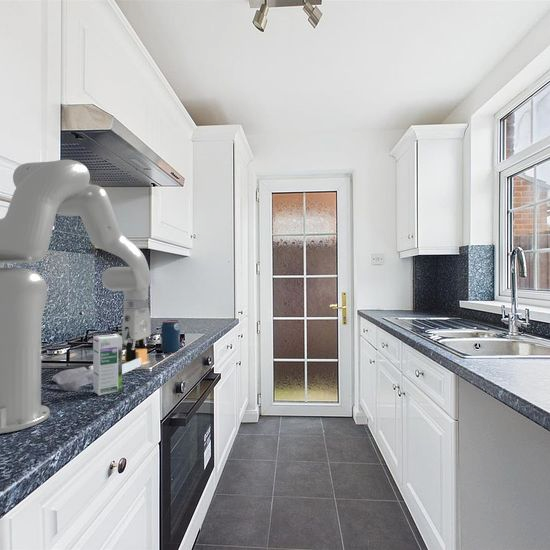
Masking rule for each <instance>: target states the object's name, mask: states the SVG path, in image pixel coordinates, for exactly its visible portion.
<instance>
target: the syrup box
mask: <svg viewBox="0 0 550 550" xmlns="http://www.w3.org/2000/svg"><path fill="white" fill-rule="evenodd" d="M92 343H93V344H92V348H93V349H92V351H93V353H92V354H93V355H92V356H93V361H92V362H93V363H92V365H93V383H92V384H93V391H94V392H95V394H97V395H98V397H100V396H103V395H108V394H109V395H110V394H114V393H119V392H122V391H123V389H122V388H123V374H122V362H123V344H122V334H119V333H113V334H101V335H93V338H92Z"/></svg>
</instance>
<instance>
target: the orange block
mask: <svg viewBox="0 0 550 550" xmlns="http://www.w3.org/2000/svg"><path fill="white" fill-rule="evenodd" d="M134 349H136V359H137V358H141V363H143V362H145V361H148V348H146V349H139V348H136V347H135V348H134ZM124 361H125V363H127V361H126V350H125V351H124Z"/></svg>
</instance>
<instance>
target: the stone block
mask: <svg viewBox="0 0 550 550" xmlns="http://www.w3.org/2000/svg"><path fill="white" fill-rule="evenodd" d="M52 382H55V384H57V386H58V387H59V388H60V389H62V390H64V391H66V392H67V391H68V392H78V391H82V390H87V389H89V388H91V386H88V385H89V384H90V385H91V384H93V369H89V368H87V367H85V366H81V367H76V368H70V369H69V368H68V369H64V370H61V371H60V372H58V373H56V374H54V375H52ZM86 385H87V386H86Z"/></svg>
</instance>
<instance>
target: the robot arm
mask: <svg viewBox="0 0 550 550" xmlns="http://www.w3.org/2000/svg"><path fill="white" fill-rule="evenodd" d="M90 180H91V176H90V171H89V169H88V167H87V166H86V165H85V164H84V163H81V162H80V161H77V160H75V159H74V160H73V159H59V160H53V161H52V160H51V161H38V162H37V161H36V162H26V163H22V164H20V165H18V166H17V167H15V170H13V175H12V181H13V185H14V187H15V189H14V191H13V194H12V197H11V200H10V202H9V206H8V208H7V212H6V214H5V216H4V217H2V218H0V434H6V433H12V432H16V431H20V430H21V431H22V430H25V429H28V428H31V427H33V426H36V425H38V424H40V423H43V422H44V421H45V420H47V419H48V418H49V417H50V414H51V410H50V408H49V407H48V406H46V405H44V404H43V405H42V329H43V328H42V325H43V315H44V310H45V307H46V306H45V305H46V302H47V298H48V285H47V282H46V280H45V279H44V277H43V276H42V275H41V274H40V273H38V272H37V271H34V270H32V269H29V268H25V267H24V268H23V267H5V264H30V263H31V264H32V263H36V262H40V261H42V260H43V259H44V258H45V257H46V255H47V253H48V251H49V247H50V243H51V238H52V233H53V229H54V224H55V221H56V215H60V216H63V217H80V219H81V221H82V223H83V226H84V229H85V232H86V233H87V236H88V238H89V241H90V242H91V244H92V245H93V246H94V247H96V248H98V249H100V250H103V251H104V252H108V253H110V254H111V255H115V256H116V257H118V258H120V259H121V260H123V261H124V262H125V263H126V264H127V265H128V266H111V267H109V268H107V269H105V270H104V271H103V272H102V274H101V284H102V285H103V287H105V288H106V289H107V290H108V291H113V292H123V315H122V322H121V323H122V325H121V336H122V346H123V347H124V350H125V351H126V361H127V362H130V361H132V360H135V359H136V349H134V348H139V349H147V344H148V343H147V341H148V339H149V337H150V336H151V335H152V325H151V324H152V322H151V314H150V313H151V312H150V308H149V287H150V286H151V281H152V279H151V278H152V277H151V270H150V268H149V264H148V261H147V259H146V256H145V255H144V253H143V252H142V251H141V249H140V248H139V247H138V246H137V245H135V244H134V242H133V241H131V240H130V239H129V238H127V237H126V236H125V235H124V234H123V233H122V231H121V229H120V225H119V223H118V219H117V217H116V213H115V212H114V208H113V206H112V203H111V200H110V198H109V196H108V193H107V191H106V190H105V189H104V188H103V187H102V186H100V185H96V184H90ZM136 342H137V343H136ZM136 344H137V345H136ZM135 346H136V347H135Z"/></svg>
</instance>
